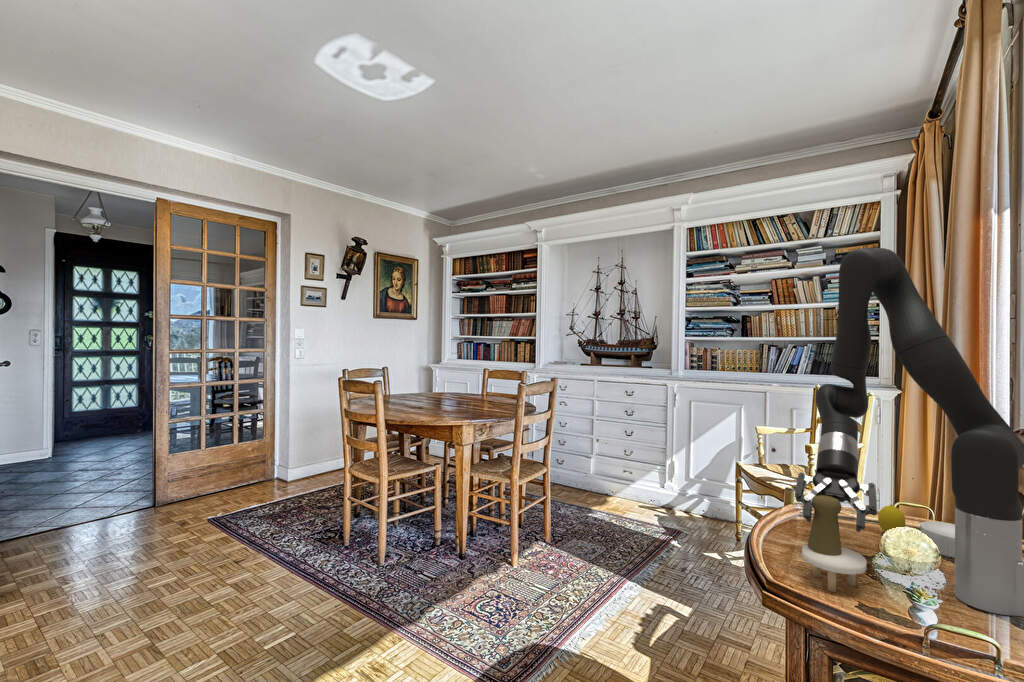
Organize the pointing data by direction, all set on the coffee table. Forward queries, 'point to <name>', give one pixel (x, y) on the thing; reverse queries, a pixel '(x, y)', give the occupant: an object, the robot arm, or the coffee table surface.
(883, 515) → the lemon
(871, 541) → the coffee table surface
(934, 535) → the ramekin
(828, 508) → the cork
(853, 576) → the stool
